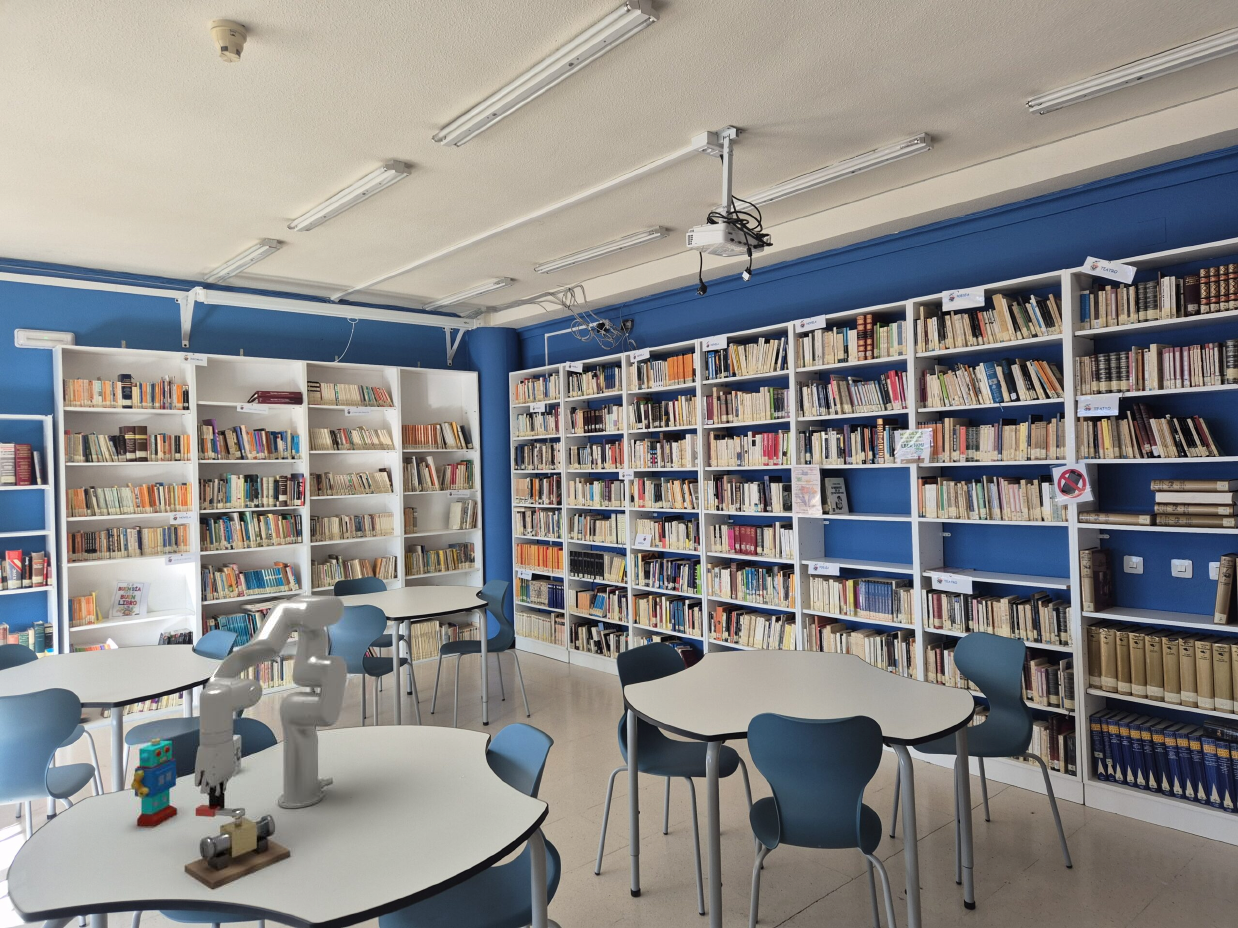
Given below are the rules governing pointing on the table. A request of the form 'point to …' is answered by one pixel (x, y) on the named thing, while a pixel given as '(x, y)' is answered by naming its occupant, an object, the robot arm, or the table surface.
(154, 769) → the toy robot
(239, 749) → the ink box
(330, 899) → the table surface
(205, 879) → the mounting board
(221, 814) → the valve lever
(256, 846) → the valve pipe
